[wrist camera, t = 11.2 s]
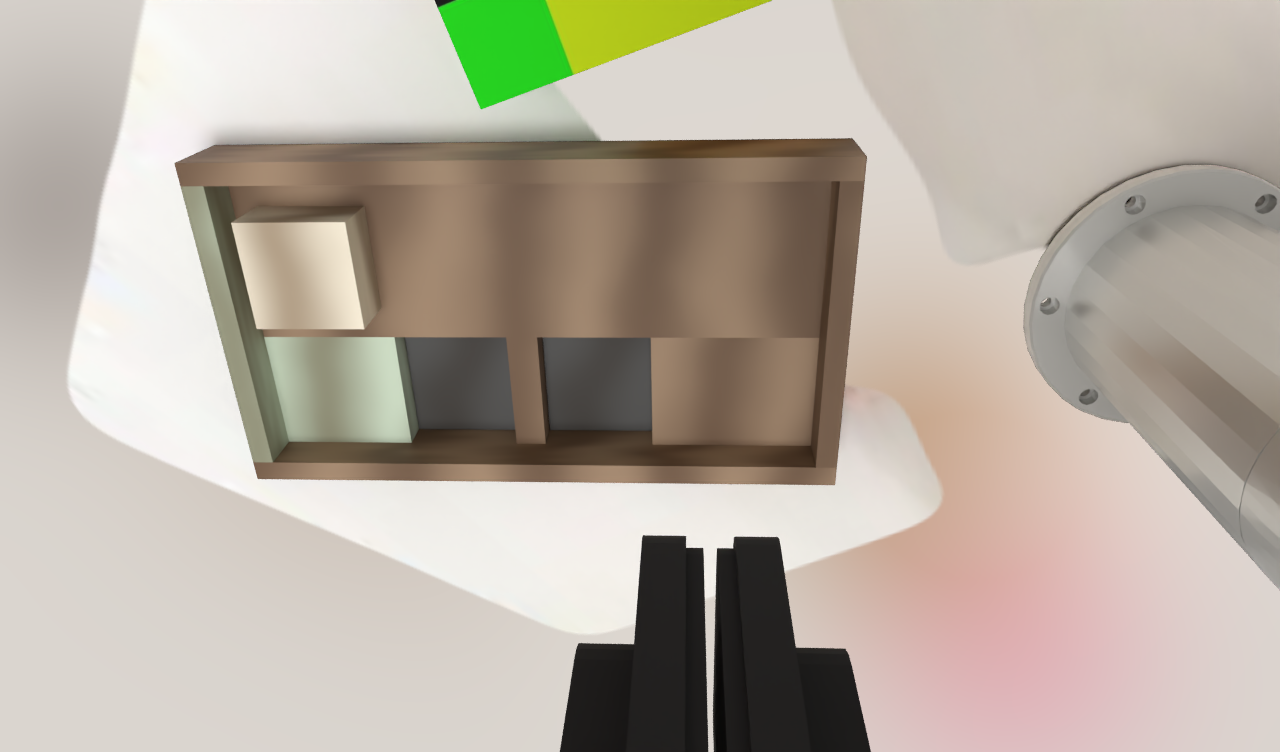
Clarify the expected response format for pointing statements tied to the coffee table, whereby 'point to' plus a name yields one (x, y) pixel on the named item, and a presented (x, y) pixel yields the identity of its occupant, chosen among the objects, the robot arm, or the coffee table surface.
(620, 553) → the coffee table surface
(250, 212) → the block
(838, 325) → the box
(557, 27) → the puzzle toy
